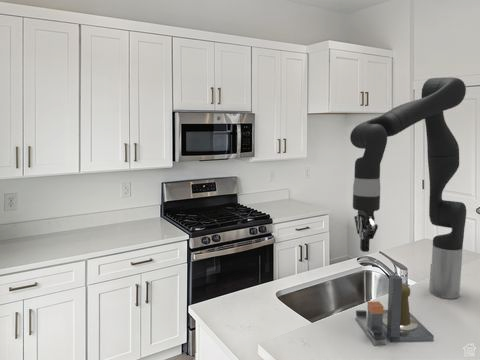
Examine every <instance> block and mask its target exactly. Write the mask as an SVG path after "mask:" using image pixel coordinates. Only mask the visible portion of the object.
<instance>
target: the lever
mask: <svg viewBox="0 0 480 360" xmlns="http://www.w3.org/2000/svg"><path fill="white" fill-rule="evenodd" d="M366 309H367V317H368V322H367V328H368V330H369V331H370V333H371V334H372V335H373V334H384V333H383V332H382V322H383V310H385V309H384V305H383V304H382V303H381V302H380V301H367V308H366Z"/></svg>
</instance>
